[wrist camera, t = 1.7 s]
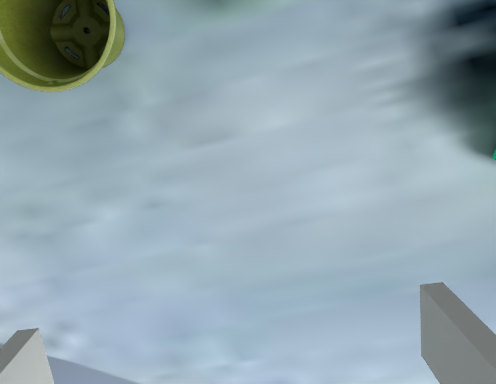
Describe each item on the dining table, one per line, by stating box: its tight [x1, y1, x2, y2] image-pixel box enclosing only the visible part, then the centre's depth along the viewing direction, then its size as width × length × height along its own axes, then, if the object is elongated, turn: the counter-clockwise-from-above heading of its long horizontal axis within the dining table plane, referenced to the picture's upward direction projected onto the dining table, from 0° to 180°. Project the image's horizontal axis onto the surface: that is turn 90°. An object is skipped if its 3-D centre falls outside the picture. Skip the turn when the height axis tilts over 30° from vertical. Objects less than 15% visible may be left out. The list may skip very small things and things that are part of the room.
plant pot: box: [0, 0, 125, 92], centre depth 31 cm, size 9×9×9 cm
